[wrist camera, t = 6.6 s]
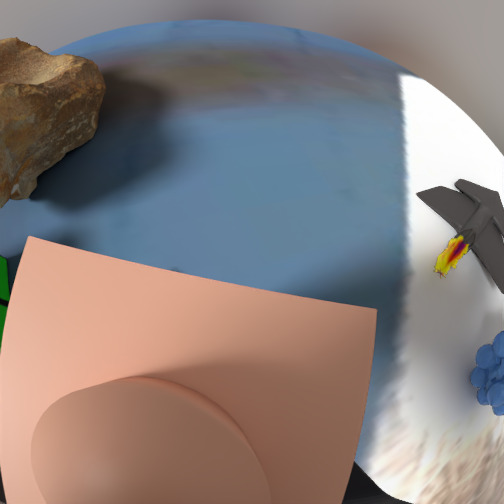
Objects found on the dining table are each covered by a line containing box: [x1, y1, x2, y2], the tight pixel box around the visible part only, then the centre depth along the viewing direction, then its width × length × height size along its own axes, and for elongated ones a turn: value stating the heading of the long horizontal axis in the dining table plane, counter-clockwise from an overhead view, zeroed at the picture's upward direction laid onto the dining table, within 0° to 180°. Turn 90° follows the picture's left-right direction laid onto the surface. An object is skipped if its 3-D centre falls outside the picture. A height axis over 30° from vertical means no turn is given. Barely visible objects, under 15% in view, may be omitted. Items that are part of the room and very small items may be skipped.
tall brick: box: [0, 236, 377, 504], centre depth 8 cm, size 4×4×14 cm
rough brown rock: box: [0, 37, 106, 208], centre depth 19 cm, size 23×16×15 cm
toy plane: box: [416, 179, 504, 294], centre depth 28 cm, size 25×17×5 cm
